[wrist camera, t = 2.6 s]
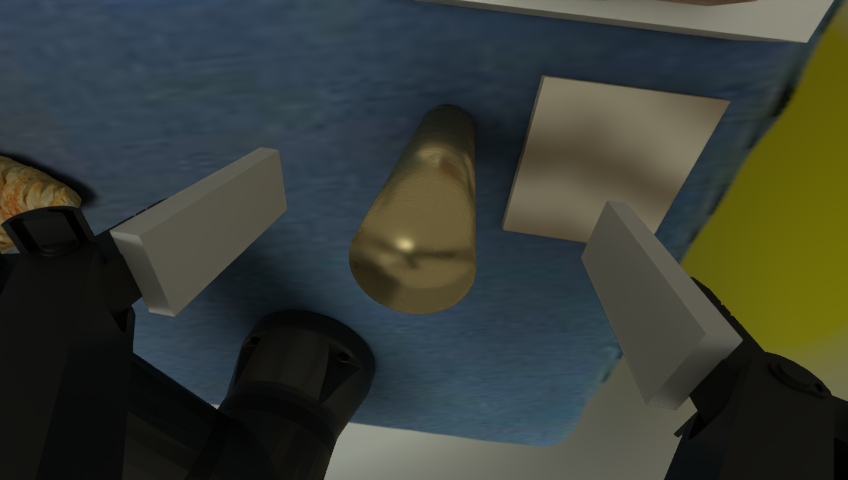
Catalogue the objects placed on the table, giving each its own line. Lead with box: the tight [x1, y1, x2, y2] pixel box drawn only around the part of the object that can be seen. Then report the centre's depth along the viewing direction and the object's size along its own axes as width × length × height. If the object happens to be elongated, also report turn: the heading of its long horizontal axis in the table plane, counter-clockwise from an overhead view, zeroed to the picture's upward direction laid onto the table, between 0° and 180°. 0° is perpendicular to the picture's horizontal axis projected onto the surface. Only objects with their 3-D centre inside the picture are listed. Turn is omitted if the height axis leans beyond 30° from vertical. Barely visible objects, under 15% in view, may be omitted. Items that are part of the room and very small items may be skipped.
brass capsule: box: [349, 104, 476, 314], centre depth 17 cm, size 4×4×16 cm
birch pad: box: [502, 75, 730, 243], centre depth 23 cm, size 11×11×1 cm
